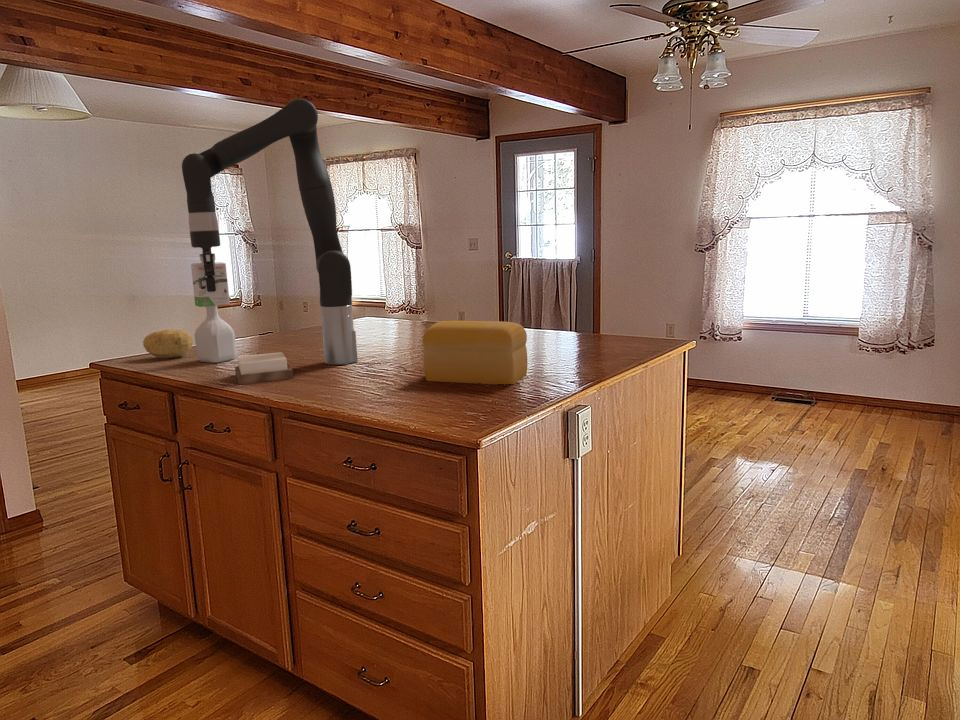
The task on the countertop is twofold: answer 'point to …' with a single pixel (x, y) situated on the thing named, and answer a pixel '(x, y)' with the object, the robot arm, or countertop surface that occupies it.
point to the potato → (168, 343)
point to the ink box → (200, 286)
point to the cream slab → (262, 363)
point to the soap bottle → (215, 338)
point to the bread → (475, 352)
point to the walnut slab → (263, 376)
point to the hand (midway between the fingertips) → (211, 290)
